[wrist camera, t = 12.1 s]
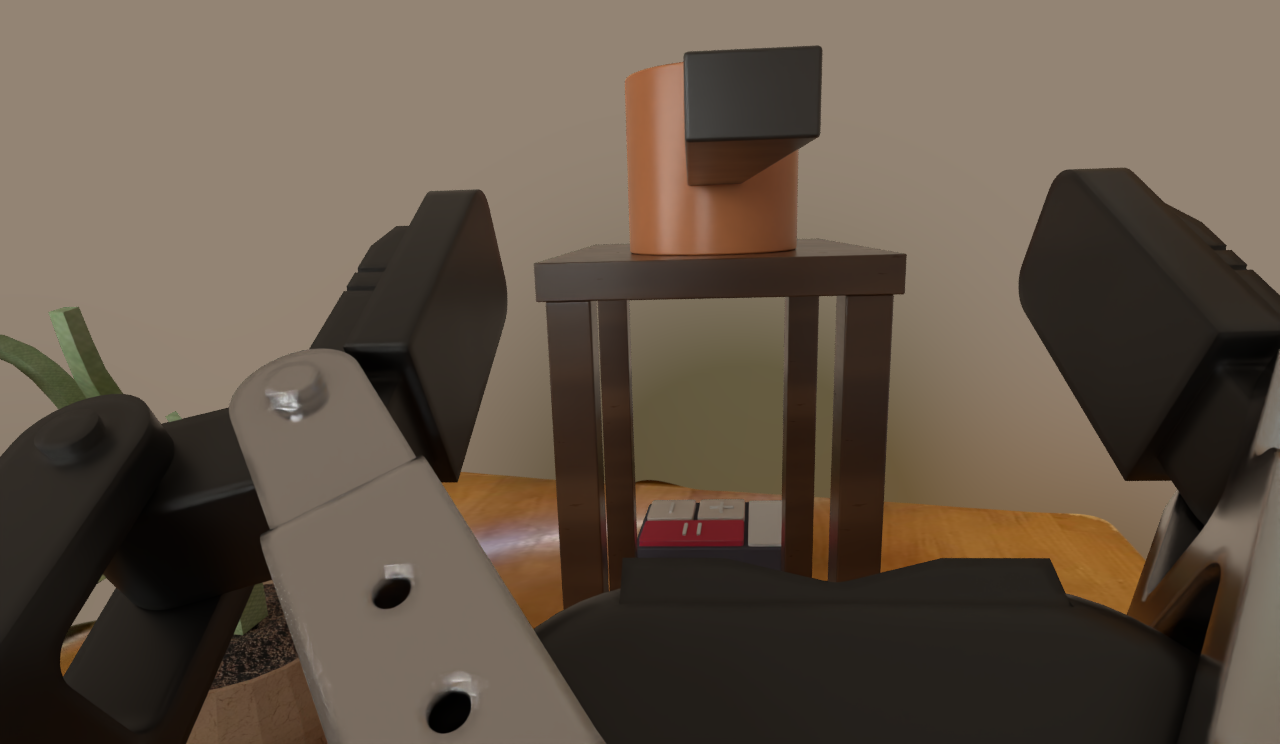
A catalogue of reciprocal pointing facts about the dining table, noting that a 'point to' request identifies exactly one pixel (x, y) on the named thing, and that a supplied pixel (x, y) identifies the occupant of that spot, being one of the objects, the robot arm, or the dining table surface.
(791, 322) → the plant stand
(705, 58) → the dipper cup
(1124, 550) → the dining table surface
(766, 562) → the calculator
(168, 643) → the robot arm
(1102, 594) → the dining table surface
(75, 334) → the potted plant
